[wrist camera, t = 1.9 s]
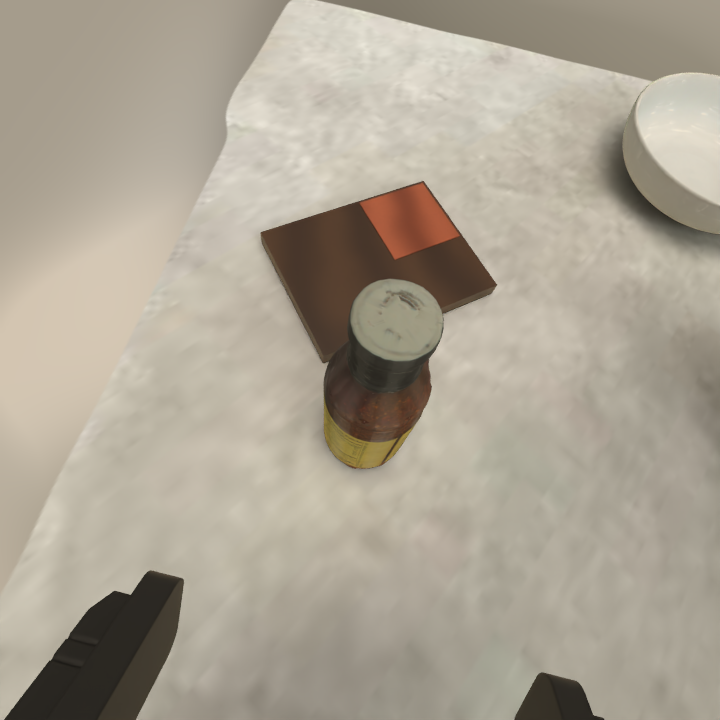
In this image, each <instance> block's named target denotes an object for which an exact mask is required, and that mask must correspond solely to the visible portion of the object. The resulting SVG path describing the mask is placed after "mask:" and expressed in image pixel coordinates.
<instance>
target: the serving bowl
mask: <svg viewBox="0 0 720 720" xmlns="http://www.w3.org/2000/svg"><path fill="white" fill-rule="evenodd" d="M623 155H624V161H625V165H626V168H627V170H628V173H629V175H630V177H631V179H632V181H633V182H634V184H635V185H636V187H637V188H638V190H639V191H640V192H641V193H642V195H643V196H644V197H645V198H646V199H647V200H648V201H649V202H650V203H651V204H652V205H654V206H655V207H656V208H657V209H658V210H660V211H661V212H663V213H664V214H665V215H667V216H669V217H670V218H672V219H674V220H676V221H677V222H680V223H682V224H684V225H686V226H689V227H691V228H694V229H697V230H700V231H704V232H709V233H714V234H720V76H717V75H712V74H705V73H678V74H672V75H668V76H665V77H662V78H660V79H658V80H656V81H654V82H652V83H651V84H649V85H648V86H647V87H646V88H645V89H644V90H643V91H642V92H641V94H640V95H639V97H638V98H637V100H636V102H635V104H634V106H633V108H632V110H631V112H630V114H629V117H628V119H627V122H626V126H625V129H624V135H623Z"/></svg>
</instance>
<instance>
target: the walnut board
mask: <svg viewBox="0 0 720 720" xmlns="http://www.w3.org/2000/svg"><path fill="white" fill-rule="evenodd" d="M261 240H262V244H263V246H264V248H265V250H266V252H267V254H268V256H269V258H270V260H271V262H272V264H273V266H274V267H275V269H276V271H277V273H278V275H279V277H280V279H281V281H282V283H283V285H284V287H285V289H286V291H287V293H288V295H289V297H290V299H291V301H292V303H293V305H294V307H295V309H296V311H297V313H298V315H299V317H300V319H301V320H302V322H303V324H304V326H305V328H306V330H307V332H308V334H309V336H310V338H311V340H312V342H313V344H314V346H315V348H316V350H317V352H318V354H319V356H320V358H321V360H322V362H323V363H325V362H327V361H330V359H331V358H332V356H333V355H334V353H335V352H336V351H337V350H338V348H339V347H340V346H342V345H343V344H344V343H345V342H347V341H348V340H349V337H348V331H347V325H348V319H349V314H350V309H351V305H352V303H353V301H354V299H355V298H356V297H357V295H358V294H359V293H360V292H361V291H362V290H363V289H364V288H365V287H367V286H368V285H370V284H371V283H374V282H376V281H378V280H385V279H399V280H405V281H409V282H412V283H415V284H417V285H419V286H421V287H424V288H425V289H426V290H427V291H429V292H430V294H431V295H432V296H433V297H434V298H435V299H436V300H437V302H438V305H439V306H440V308H441V310H442V314H443V313H446V312H448V311H450V310H453V309H455V308H458V307H460V306H462V305H465V304H467V303H470V302H472V301H474V300H477V299H479V298H482V297H484V296H487V295H489V294H491V293H492V292H493V290H494V289H495V287H496V286H497V284H496V283H495V281H494V280H493V279H492V277H491V276H490V274H489V273H488V271H487V270H486V269H485V267H484V266H483V264H482V263H481V262H480V260H479V259H478V257H477V256H476V254H475V253H474V252H473V250H472V249H471V247H470V246H469V245H468V243H467V242H466V240H465V239H464V238H463V236H462V235H461V233H460V232H459V230H458V229H457V228H456V226H455V225H454V223H453V222H452V221H451V219H450V218H449V216H448V215H447V213H446V212H445V211H444V209H443V208H442V206H441V205H440V204H439V202H438V201H437V199H436V198H435V197H434V195H433V194H432V192H431V191H430V189H429V188H428V187H427V185H426V184H425V182H424V181H422V182H419V183H415V184H412V185H409V186H406V187H403V188H400V189H396V190H393V191H390V192H387V193H384V194H381V195H377V196H374V197H371V198H368V199H365V200H361V201H358V202H355V203H352V204H349V205H346V206H342V207H339V208H336V209H333V210H330V211H327V212H323V213H320V214H317V215H314V216H311V217H308V218H304V219H301V220H298V221H295V222H292V223H289V224H285V225H282V226H279V227H276V228H273V229H270V230H266V231H263V232H261Z"/></svg>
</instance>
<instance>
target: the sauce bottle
mask: <svg viewBox="0 0 720 720" xmlns="http://www.w3.org/2000/svg"><path fill="white" fill-rule="evenodd" d="M443 321H444V318H443V314H442V310H441V308H440V306H439V305H438V302H437V300H436V299H435V298H434V297H433V296H432V295H431V294H430V292H429V291H427V290H426V289H425V288H424V287H421V286H419V285H417V284H415V283H412V282H409V281H405V280H399V279H385V280H378V281H376V282H374V283H371V284H370V285H368V286H367V287H365V288H364V289H363V290H362V291H361V292H360V293H359V294H358V295H357V297H356V298H355V299H354V301H353V303H352V305H351V309H350V314H349V319H348V325H347V331H348V337H349V340H348V341H347V342H345V343H344V344H343V345H342V346H340V347H339V348H338V350H337V351H336V352H335V353H334V355H333V356H332V358H331V359H330V361H329V363H328V366H327V369H326V373H325V377H324V434H325V438H326V441H327V444H328V446H329V448H330V450H331V451H332V453H333V454H334V455H335V457H337V458H338V459H339V460H341V461H342V462H344V463H345V464H346V465H347V466H349V467H352V468H354V469H356V468H360V469H366V468H373V467H376V466H380V465H382V464H384V463H385V462H386V461H388V460H389V459H390V458H392V457H393V456H394V455H395V453H396V452H397V451H398V449H399V448H400V447H401V445H402V444H403V442H404V441H405V439H406V438H407V436H408V435H409V433H410V432H411V430H412V429H413V427H414V426H415V424H416V423H417V421H418V420H419V418H420V417H421V415H422V412H423V410H424V408H425V406H426V404H427V402H428V400H429V397H430V393H431V388H432V386H431V383H430V371H429V365H428V363H429V358H430V357H431V355H432V354H433V353H434V351H435V350H436V348H437V346H438V344H439V342H440V339H441V337H442V333H443Z"/></svg>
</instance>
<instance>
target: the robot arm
mask: <svg viewBox="0 0 720 720" xmlns="http://www.w3.org/2000/svg"><path fill="white" fill-rule="evenodd" d="M183 586H184V580H183V578H179V577H175V576H171V575H167V574H163V573H159V572H155V571H148V572H147V573H146V574H145V575H144V577H143V578H142V579H141V581H140V582H139V584H138V585H137V587H136V588H135V590H134V591H133V593H132V594H131V595H129V594H125V593H121V592H117V591H113V592H112V593H111V594H109V595H108V596H106V597H105V598H104V599H102V600H101V601H100V602H98V603H97V604H95V605H94V606H93V607H91V608H90V609H89V610H88V611H87V612H86V614H85V615H84V616H83V617H82V619H81V620H80V621H79V623H78V624H77V625H76V627H75V628H74V629H73V631H72V632H71V633H70V636H69V638H68V639H66V640H65V641H64V642H63V644H62V645H61V646H60V648H59V649H58V650H57V651H56V653H55V654H54V656H53V658H52V660H51V661H49V662H48V663H47V664H46V666H45V667H44V668H43V670H42V671H41V672H40V674H39V675H38V676H37V678H36V679H35V680H34V681H33V683H32V684H31V685H30V687H29V688H28V689H27V691H26V692H25V693H24V694H23V696H22V697H21V698H20V700H19V701H18V702H17V704H16V705H15V706H14V708H13V709H12V710H11V711H10V713H9V714H8V715H7V717H6V718H5V719H4V720H136V718H137V716H138V714H139V712H140V710H141V708H142V706H143V704H144V702H145V700H146V698H147V696H148V694H149V692H150V690H151V689H152V687H153V685H154V683H155V681H156V679H157V677H158V675H159V673H160V671H161V669H162V667H163V665H164V663H165V661H166V659H167V657H168V655H169V653H170V650H171V648H172V645H173V642H174V639H175V636H176V633H177V629H178V622H179V615H180V608H181V600H182V593H183ZM515 720H604V719H603V718H601V717H597V716H594V715H593V713H592V711H591V708H590V705H589V703H588V700H587V697H586V695H585V692H584V690H583V688H582V686H581V685H580V684H579V683H578V682H577V681H574V680H570V679H566V678H562V677H559V676H555V675H551V674H547V673H539V674H538V676H537V677H536V679H535V681H534V683H533V684H532V686H531V688H530V690H529V692H528V694H527V695H526V697H525V699H524V701H523V703H522V705H521V707H520V708H519V710H518V712H517V714H516V716H515Z"/></svg>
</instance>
